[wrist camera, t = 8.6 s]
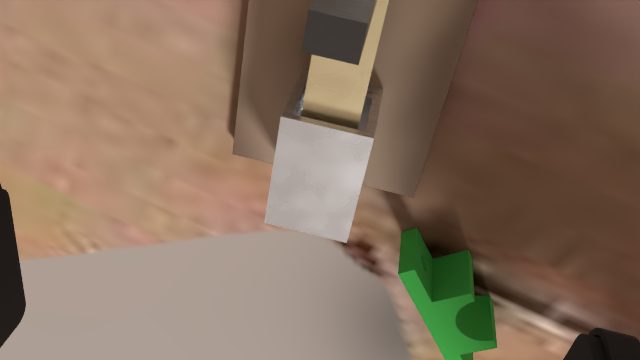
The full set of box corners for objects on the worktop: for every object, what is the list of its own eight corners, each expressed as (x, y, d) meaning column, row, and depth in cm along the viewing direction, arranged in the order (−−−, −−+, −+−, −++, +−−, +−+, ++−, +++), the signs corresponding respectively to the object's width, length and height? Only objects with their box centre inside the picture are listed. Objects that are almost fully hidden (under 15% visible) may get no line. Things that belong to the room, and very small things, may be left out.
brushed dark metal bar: (421, -129, 27) (409, -77, 18) (360, 122, 34) (330, 248, 25) (353, -144, 27) (307, -100, 18) (306, 109, 35) (258, 230, 26)
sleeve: (383, 87, 35) (374, 138, 30) (358, 184, 39) (346, 242, 34) (302, 68, 35) (280, 116, 31) (286, 166, 39) (264, 222, 35)
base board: (532, -176, 28) (535, -175, 27) (414, 187, 40) (413, 197, 39) (279, -231, 28) (273, -231, 28) (237, 144, 41) (232, 154, 40)
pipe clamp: (505, 326, 46) (511, 376, 42) (457, 336, 47) (459, 385, 44) (453, 215, 41) (454, 260, 37) (401, 230, 42) (397, 275, 39)
